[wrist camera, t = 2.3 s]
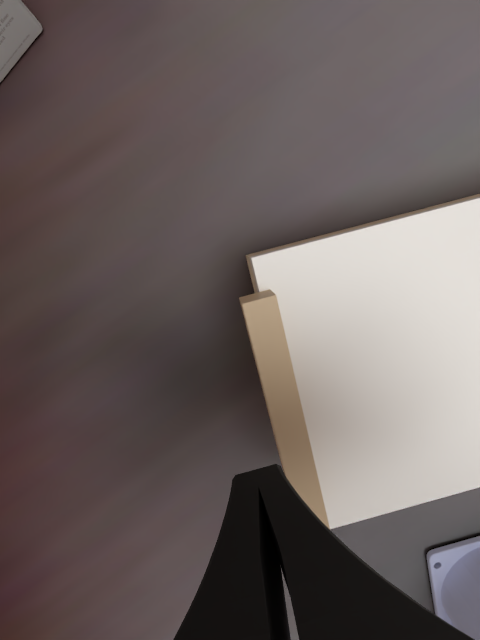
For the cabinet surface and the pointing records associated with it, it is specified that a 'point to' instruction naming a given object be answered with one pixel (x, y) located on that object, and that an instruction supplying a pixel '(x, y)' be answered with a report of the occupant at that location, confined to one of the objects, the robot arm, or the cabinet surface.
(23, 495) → the cabinet surface
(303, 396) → the lid
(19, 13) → the small box
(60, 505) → the cabinet surface
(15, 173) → the cabinet surface
